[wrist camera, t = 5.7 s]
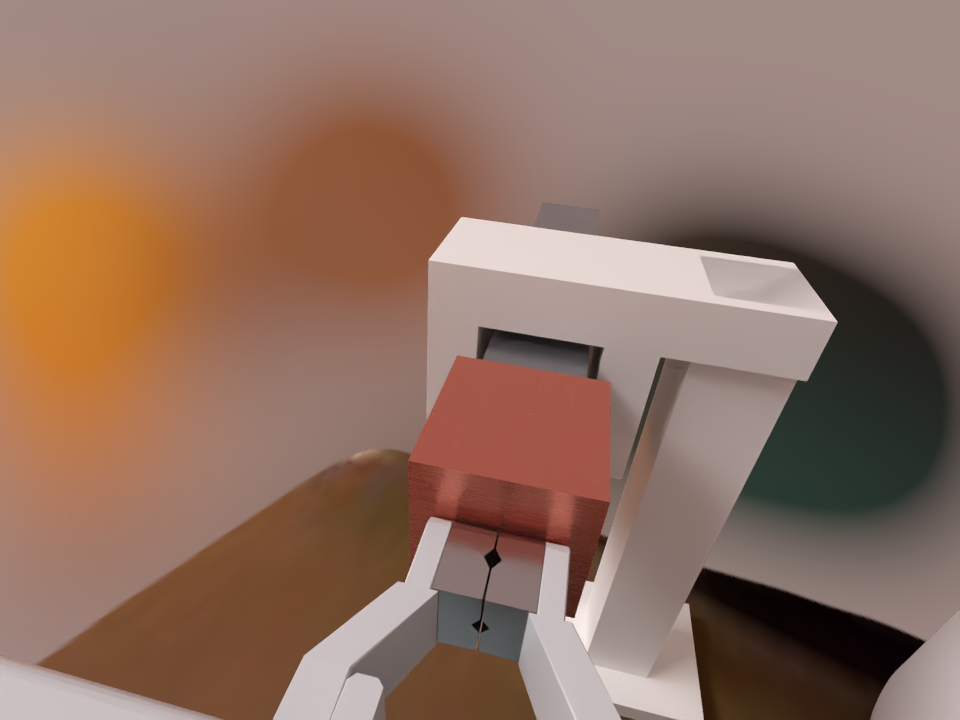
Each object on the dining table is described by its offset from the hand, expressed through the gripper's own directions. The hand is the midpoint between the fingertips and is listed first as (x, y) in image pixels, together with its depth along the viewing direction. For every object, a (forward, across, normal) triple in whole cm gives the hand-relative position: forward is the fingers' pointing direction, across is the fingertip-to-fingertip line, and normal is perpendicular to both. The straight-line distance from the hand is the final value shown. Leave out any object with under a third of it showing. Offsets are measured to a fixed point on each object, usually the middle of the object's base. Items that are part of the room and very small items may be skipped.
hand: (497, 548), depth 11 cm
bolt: (+11, 0, +2) cm, 11 cm away
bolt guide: (+8, -3, +18) cm, 20 cm away
